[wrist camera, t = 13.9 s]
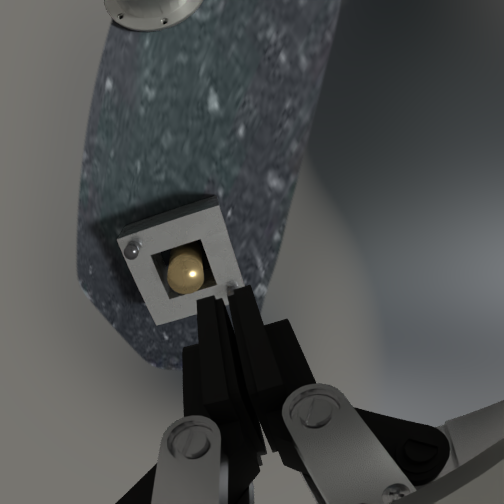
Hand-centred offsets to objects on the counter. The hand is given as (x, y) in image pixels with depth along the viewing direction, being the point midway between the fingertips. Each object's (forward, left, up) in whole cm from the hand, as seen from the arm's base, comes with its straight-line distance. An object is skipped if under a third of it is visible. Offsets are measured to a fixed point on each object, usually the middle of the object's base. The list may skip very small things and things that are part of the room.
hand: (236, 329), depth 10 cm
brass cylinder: (+9, -6, -31) cm, 32 cm away
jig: (+9, -6, -31) cm, 32 cm away
